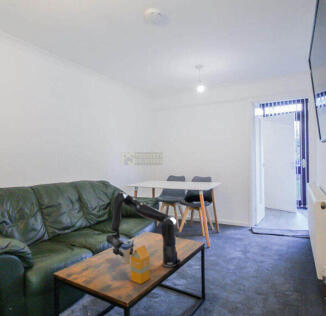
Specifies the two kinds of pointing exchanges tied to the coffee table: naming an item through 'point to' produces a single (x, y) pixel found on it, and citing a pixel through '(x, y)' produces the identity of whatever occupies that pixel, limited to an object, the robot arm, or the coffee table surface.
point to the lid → (125, 246)
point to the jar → (126, 256)
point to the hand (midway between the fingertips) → (127, 254)
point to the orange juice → (140, 265)
